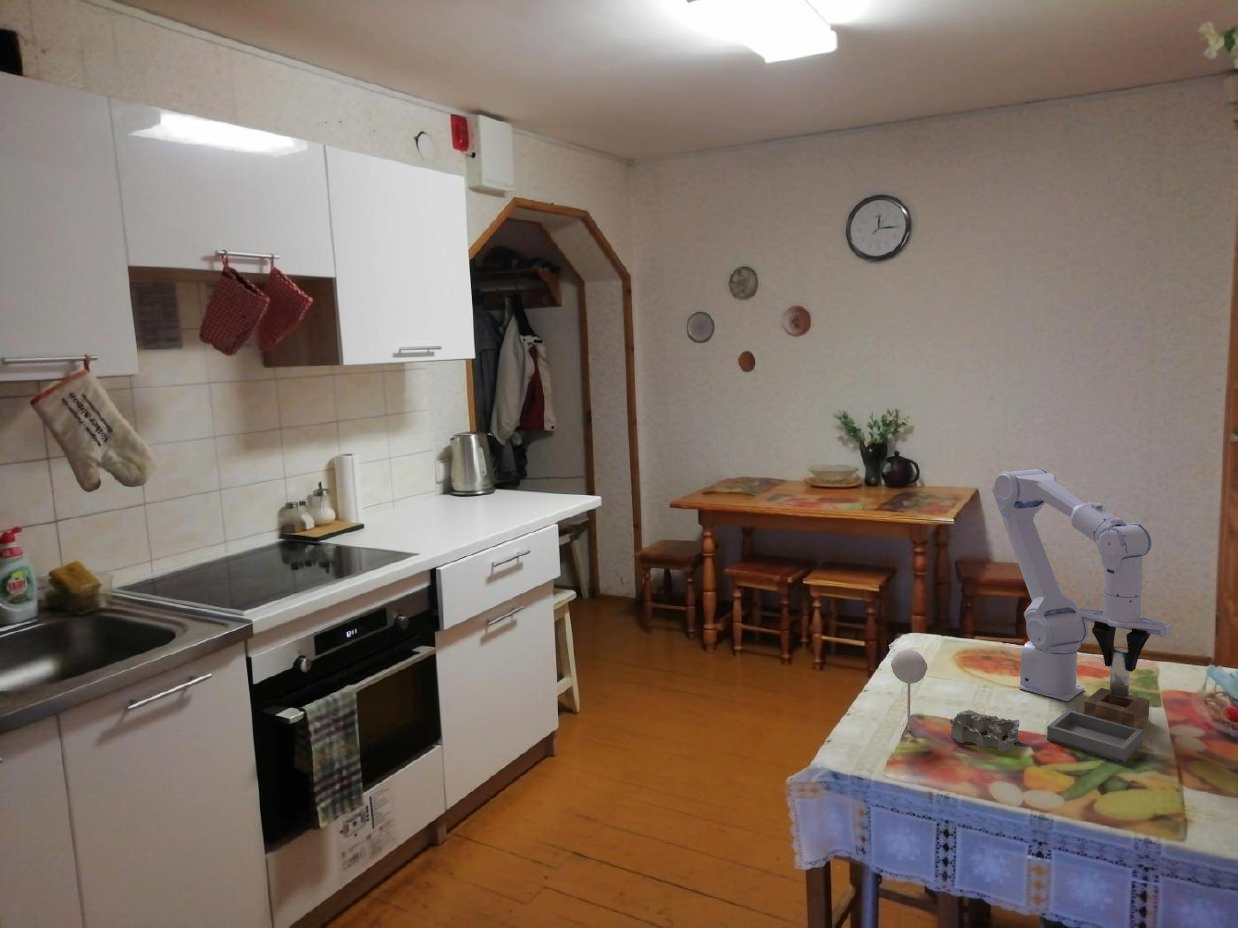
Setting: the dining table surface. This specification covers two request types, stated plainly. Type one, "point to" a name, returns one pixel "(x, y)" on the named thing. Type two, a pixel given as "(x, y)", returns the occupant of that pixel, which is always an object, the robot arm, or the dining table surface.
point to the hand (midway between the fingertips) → (1120, 667)
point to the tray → (1095, 735)
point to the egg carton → (973, 723)
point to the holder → (1118, 708)
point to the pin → (1119, 673)
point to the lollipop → (909, 671)
